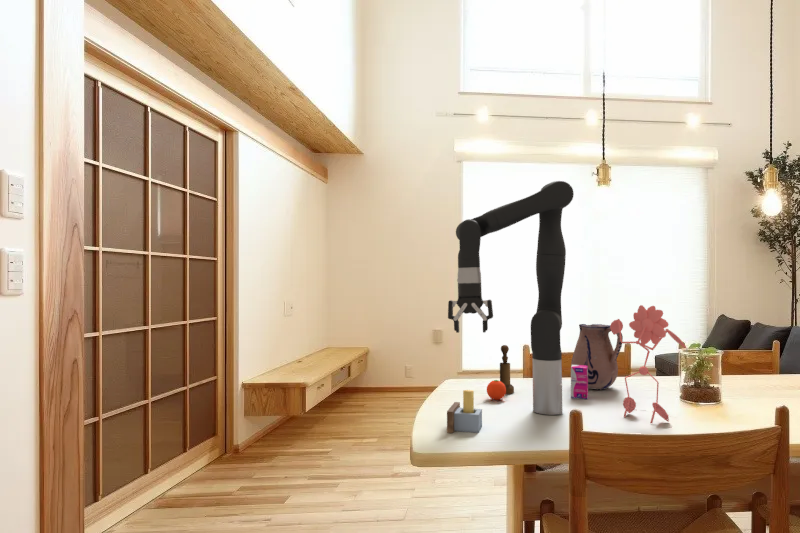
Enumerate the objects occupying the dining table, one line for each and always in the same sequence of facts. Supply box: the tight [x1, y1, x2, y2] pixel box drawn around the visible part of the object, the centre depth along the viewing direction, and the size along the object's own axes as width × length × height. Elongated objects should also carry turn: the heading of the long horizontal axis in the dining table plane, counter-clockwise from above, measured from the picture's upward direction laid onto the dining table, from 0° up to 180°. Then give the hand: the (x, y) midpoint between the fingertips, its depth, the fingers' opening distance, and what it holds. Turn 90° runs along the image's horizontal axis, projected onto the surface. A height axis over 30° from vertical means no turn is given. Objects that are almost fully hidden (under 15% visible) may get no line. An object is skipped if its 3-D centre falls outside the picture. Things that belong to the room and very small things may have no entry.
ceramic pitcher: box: [570, 323, 624, 390], centre depth 210 cm, size 18×21×25 cm
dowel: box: [462, 389, 475, 413], centre depth 154 cm, size 3×3×10 cm
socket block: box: [454, 407, 483, 434], centre depth 154 cm, size 7×7×5 cm
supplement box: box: [570, 365, 589, 400], centre depth 193 cm, size 6×6×12 cm
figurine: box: [609, 304, 687, 429], centre depth 165 cm, size 15×26×35 cm, turn 31°
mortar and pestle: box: [499, 344, 515, 395], centre depth 203 cm, size 7×6×18 cm
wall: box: [446, 401, 461, 434], centre depth 155 cm, size 2×12×6 cm, turn 164°
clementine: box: [486, 379, 507, 401], centre depth 191 cm, size 8×7×7 cm
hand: (470, 332), depth 170 cm, fingers open, 8 cm apart
